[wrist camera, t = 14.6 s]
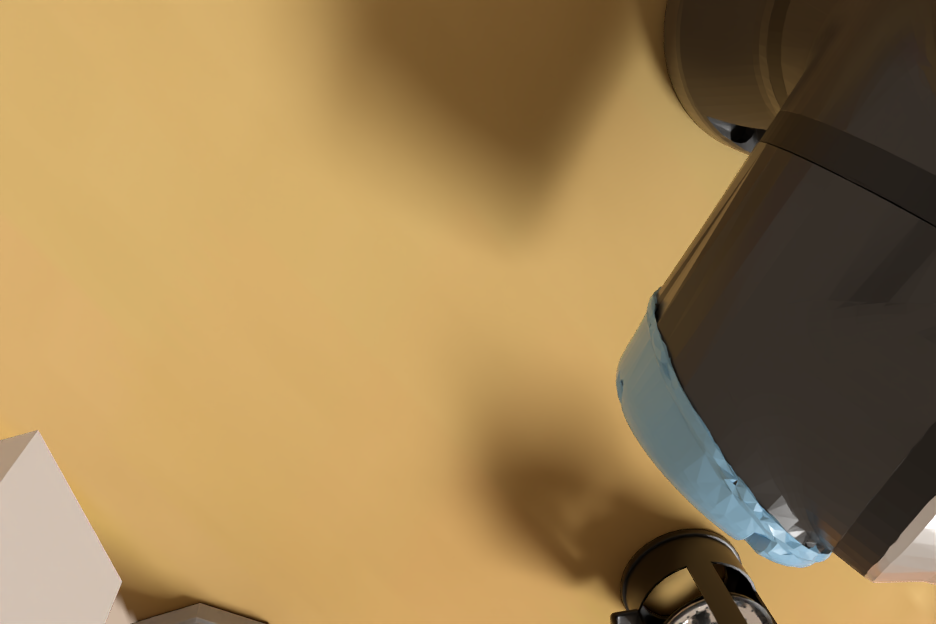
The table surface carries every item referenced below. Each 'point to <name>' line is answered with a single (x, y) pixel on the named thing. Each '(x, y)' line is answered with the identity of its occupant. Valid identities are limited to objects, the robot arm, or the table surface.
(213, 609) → the tankard
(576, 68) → the table surface
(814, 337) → the robot arm
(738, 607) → the french press
